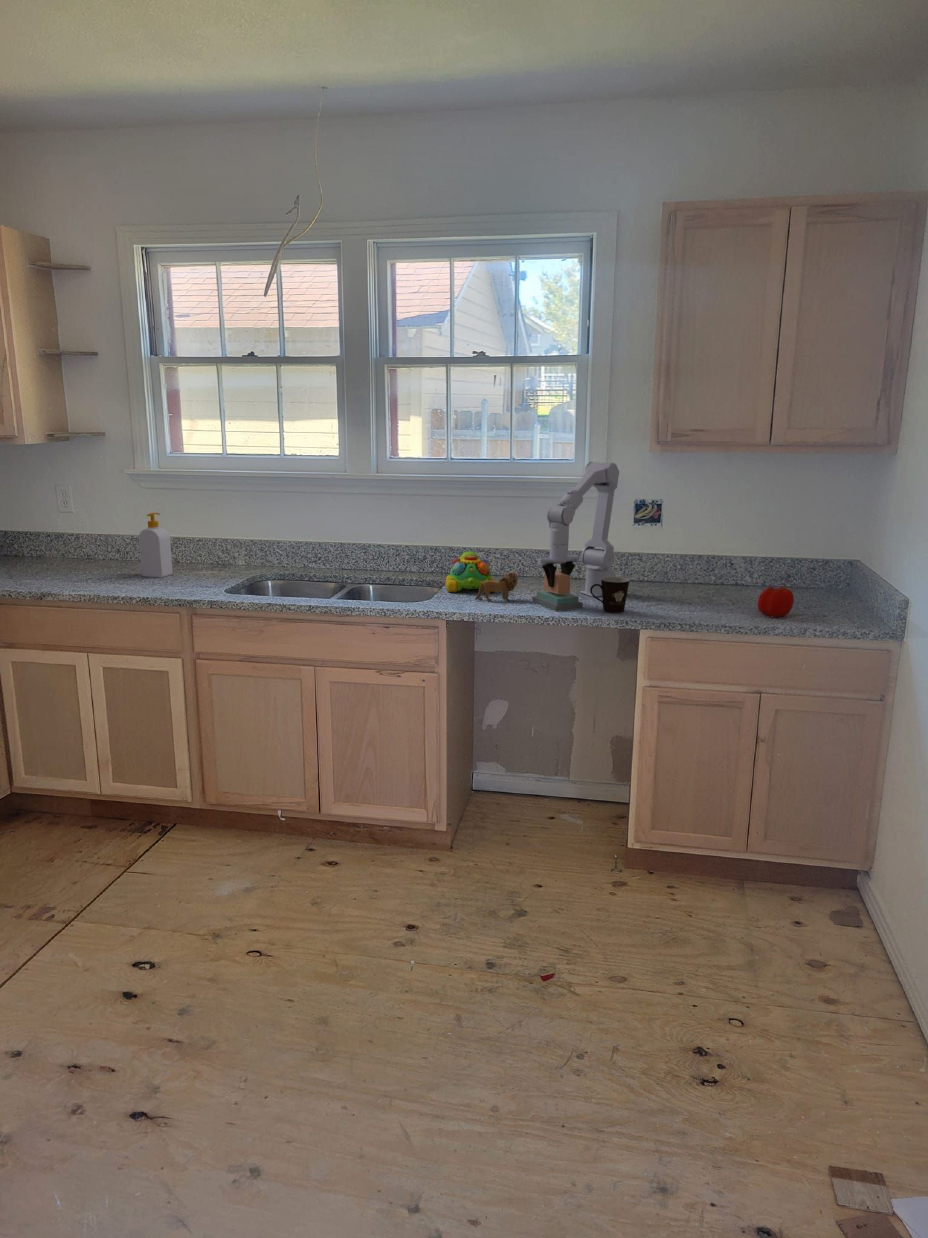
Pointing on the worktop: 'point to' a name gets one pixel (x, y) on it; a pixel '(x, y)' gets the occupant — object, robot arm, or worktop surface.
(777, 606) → the tomato
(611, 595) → the coffee mug
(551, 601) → the green-topped grey block
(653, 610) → the worktop surface
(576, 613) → the worktop surface
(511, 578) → the lion figurine
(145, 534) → the soap bottle
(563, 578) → the terracotta brick
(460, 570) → the turtle toy
